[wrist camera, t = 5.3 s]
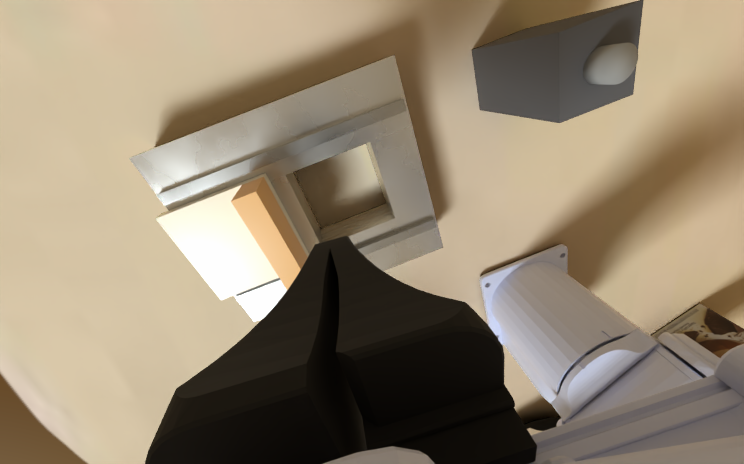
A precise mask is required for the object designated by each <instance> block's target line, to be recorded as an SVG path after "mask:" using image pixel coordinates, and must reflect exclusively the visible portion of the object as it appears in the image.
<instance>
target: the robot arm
mask: <svg viewBox="0 0 744 464" xmlns="http://www.w3.org/2000/svg"><path fill="white" fill-rule="evenodd" d="M486 283H487V284H486ZM480 285H481V290H482V296H483V301H484V306H485V312H486V317H487V322H488V325H487V324H486V323H485V322H484V321H483V319H482V318H481V317H480V316H479V315H478V314H477V313H476V312H475V311H474V310H473V309H472V308H471V307H470V306H469V305H468V304H467V303H465V302H462V301H458V300H453V299H449V298H445V297H440V296H436V295H433V294H430V293H427V292H424V291H421V290H418V289H416V288H413V287H411V286H409V285H406V284H404V283H402V282H400V281H398V280H396V279H395V278H393V277H391V276H390V275H388V274H386V273H385V272H383V271H382V270H381V269H379V268H378V267H377V266H375V265H374V264H373V263H372V262H370V261H369V260H368V259H367V258H366V257H365V256H364V255H363V254H362V253H361V252H360V251H359V250H358V249H357V248H356V247H355V246H354V244H353V243H352V241H351V240H350V238H349V237H348V236H343V237H340V238H336V239H333V240H329V241H325V242H322V243H318V244H315V245H314V247H313V249H312V250H311V252H310V254H309V256H308V258H307V260H306V262H305V263H304V265H303V267H302V269H301V270H300V272H299V274H298V275H297V277H296V278H295V280H294V281H293V283H292V284H291V286H290V287H289V289H288V290H287V292H286V293H285V294H284V295H283V297H282V298H281V299H280V301H279V302H278V303H277V304H276V305H275V306H274V308H273V309H272V310H271V311H270V312H269V313H268V314H267V315H266V316H265V317H264V318H263V319H262V320H261V321H260V322H259V323H258V324H257V325H256V326H255V327H254V328H253V329H252V330H251V331H250V332H249V333H248V334H247V335H246V336H245V337H244V338H242V339H241V340H240V341H239V342H238V343H237V344H236V345H234V346H233V347H232V348H231V349H230V350H228V351H227V352H226V353H225V354H223V355H222V356H221V357H220V358H218V359H217V360H216V361H215V362H213V363H212V364H210V365H209V366H208V367H206V368H205V369H204V370H202V371H201V372H199V373H198V374H197V375H195V376H194V377H192V378H191V379H190V380H188V381H187V382H186V383H184V384H183V385H181V386H180V387H178V388H177V389H176V391H175V393H174V395H173V397H172V399H171V402H170V404H169V406H168V408H167V410H166V413H165V415H164V417H163V419H162V422H161V424H160V426H159V428H158V431H157V433H156V435H155V437H154V439H153V442H152V444H151V446H150V448H149V451H148V454H147V458H146V462H145V464H744V344H742V345H739V346H736V347H734V348H732V349H730V350H729V351H727V352H726V353H725V354H724V355H723V356H722V357H721V358H719V357H717V356H716V355H714V354H713V353H711V352H710V351H709V350H707V349H706V348H704V347H703V346H701V345H700V344H698V343H697V342H695V341H694V340H692V339H691V338H689V337H688V336H686V335H685V334H677V333H673V334H670V333H668V332H664V333H662V334H661V335H660V336H659V337H657V338H658V339H659V340H660V341H659V340H658V339H656V338H654V337H652V336H651V335H649V334H647V333H646V332H644V331H643V330H642V329H640V328H639V327H638V326H636V325H635V324H634V323H632V322H631V321H630V320H628V319H627V318H626V317H624V316H623V315H622V314H620V313H619V312H618V311H616V310H615V309H613V308H612V307H611V306H609V305H608V304H607V303H605V302H604V301H603V300H601V299H600V298H599V297H597V296H596V295H595V294H593V293H592V292H591V291H589V290H588V289H587V288H585V287H584V286H583V285H581V284H580V283H579V282H577V281H576V280H575V279H573V278H572V277H571V276H569V275H568V248H567V246H565V245H564V244H560V245H557V246H555V247H552V248H550V249H547V250H545V251H542V252H539V253H537V254H534V255H532V256H529V257H527V258H524V259H522V260H519V261H517V262H514V263H512V264H509V265H506V266H504V267H501V268H499V269H496V270H494V271H491V272H489V273H486V274H484V275H482V276H481V277H480ZM503 344H504V345H505V347H506V348H507V349H508V351H509V352H510V353H511V355H512V356H513V358H514V359H515V360H516V362H517V363H518V364H519V366H520V367H521V368H522V370H523V371H524V373H525V374H526V375H527V377H528V378H529V379H530V381H531V382H532V383H533V385H534V386H535V387H536V389H537V390H538V392H539V393H540V394H541V395H542V396H543V397H544V398H545V399H546V400H547V401H548V402H549V403H550V404H551V405H552V406H553V407H554V409H555V410H556V411H557V413H558V414H559V415H560V417H561V419H559V420H558V422H557V425H556V426H557V427H554V428H551V429H548V430H545V431H542V432H539V433H536V434H533V435H530V433H529V432H528V430H527V428H526V427H525V425H524V424H523V422H522V420H521V419H520V417H519V415H518V414H517V412H516V411H515V409H514V407H515V403H514V400H513V398H512V396H511V395H510V393H509V391H508V390H507V388H506V387H505V385H504V352H503V346H502V345H503Z"/></svg>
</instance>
